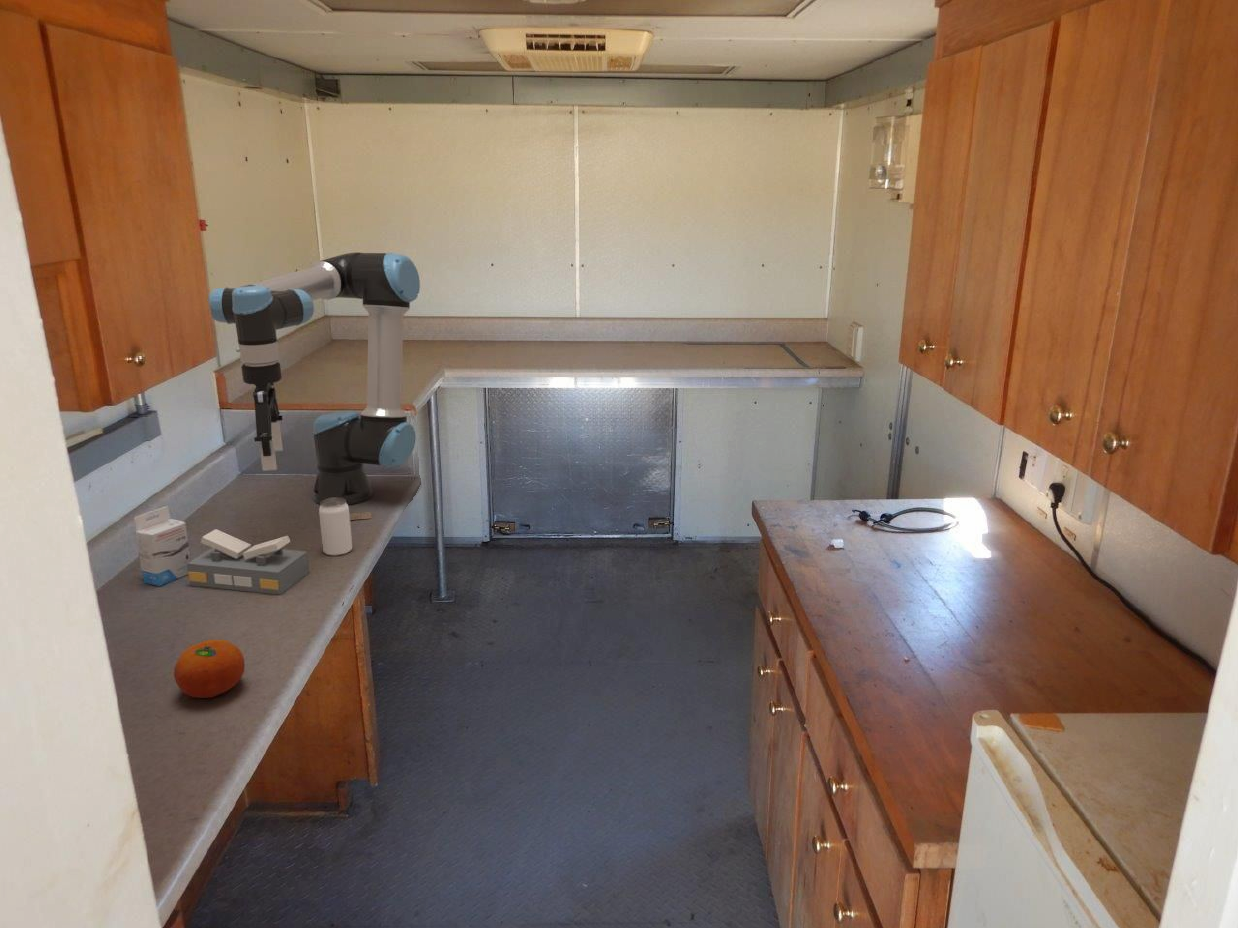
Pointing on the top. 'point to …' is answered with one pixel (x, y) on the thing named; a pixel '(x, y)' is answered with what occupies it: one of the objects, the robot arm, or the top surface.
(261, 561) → the switch unit
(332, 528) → the can
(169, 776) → the top surface
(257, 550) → the rocker
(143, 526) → the ink box
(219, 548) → the rocker
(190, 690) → the fruit
